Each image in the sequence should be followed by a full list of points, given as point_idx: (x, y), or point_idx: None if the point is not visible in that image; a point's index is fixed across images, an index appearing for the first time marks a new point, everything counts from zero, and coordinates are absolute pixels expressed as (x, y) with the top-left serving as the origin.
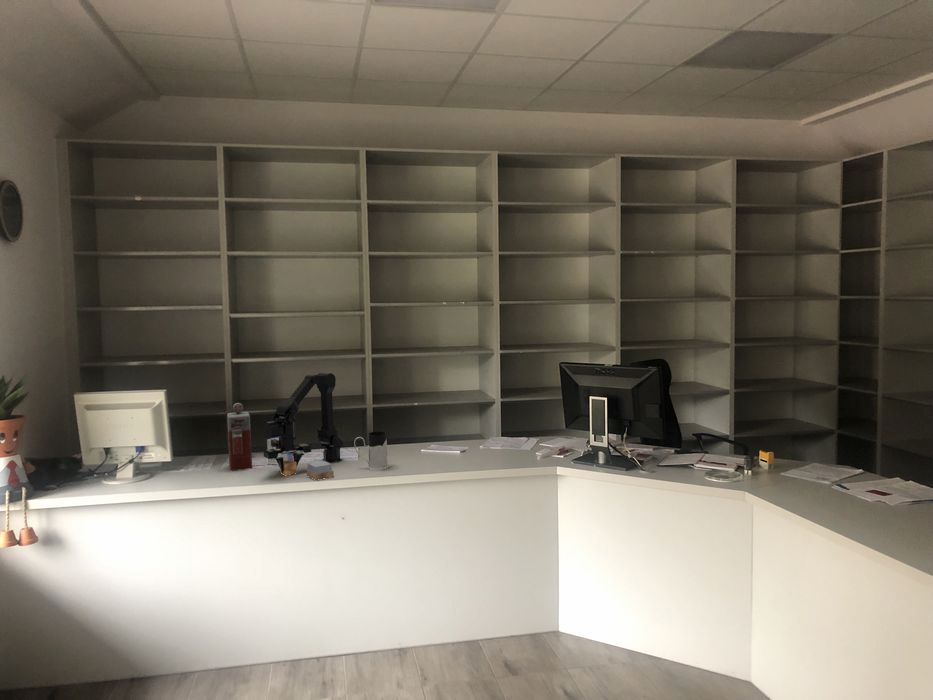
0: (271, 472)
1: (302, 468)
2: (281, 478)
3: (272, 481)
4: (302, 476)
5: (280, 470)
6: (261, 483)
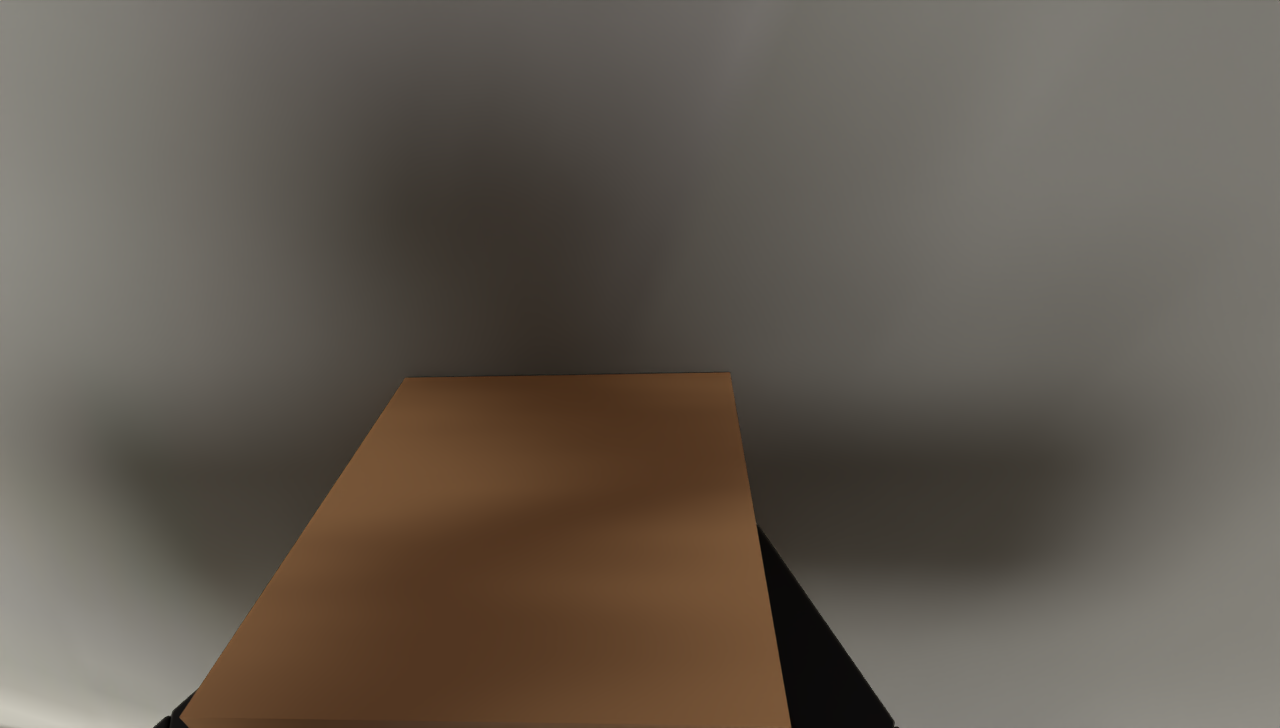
0: (126, 82)
1: (1152, 264)
2: None
3: None
4: None
5: (369, 438)
6: (43, 677)
